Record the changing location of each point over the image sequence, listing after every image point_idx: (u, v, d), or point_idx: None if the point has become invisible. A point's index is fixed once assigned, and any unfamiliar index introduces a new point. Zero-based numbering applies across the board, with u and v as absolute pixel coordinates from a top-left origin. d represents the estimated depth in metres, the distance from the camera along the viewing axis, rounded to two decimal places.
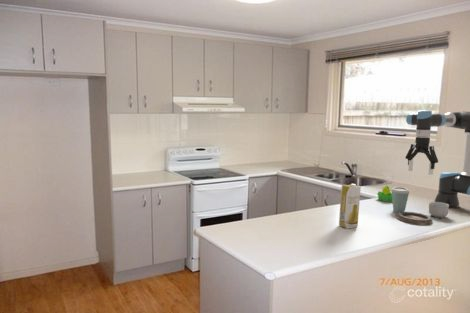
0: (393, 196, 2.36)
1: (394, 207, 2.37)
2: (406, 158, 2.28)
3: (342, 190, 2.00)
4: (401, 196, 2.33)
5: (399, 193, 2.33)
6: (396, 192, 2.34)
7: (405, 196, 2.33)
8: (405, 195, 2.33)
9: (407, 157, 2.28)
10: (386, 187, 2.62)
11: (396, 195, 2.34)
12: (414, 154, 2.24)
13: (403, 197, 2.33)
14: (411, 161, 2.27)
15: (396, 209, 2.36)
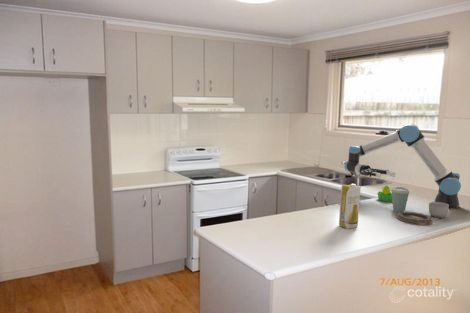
0: (393, 196, 2.36)
1: (394, 207, 2.37)
2: None
3: (342, 190, 2.00)
4: (401, 196, 2.33)
5: (399, 193, 2.33)
6: (396, 192, 2.34)
7: (405, 196, 2.33)
8: (405, 195, 2.33)
9: None
10: (386, 187, 2.62)
11: (396, 195, 2.34)
12: (379, 173, 2.56)
13: (403, 197, 2.33)
14: (387, 173, 2.53)
15: (396, 209, 2.36)
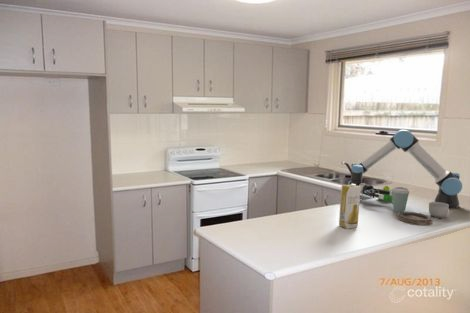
0: (393, 196, 2.36)
1: (394, 207, 2.37)
2: None
3: (342, 190, 2.00)
4: (401, 196, 2.33)
5: (399, 193, 2.33)
6: (396, 192, 2.34)
7: (405, 196, 2.33)
8: (405, 195, 2.33)
9: None
10: (386, 187, 2.62)
11: (396, 195, 2.34)
12: (382, 193, 2.54)
13: (403, 197, 2.33)
14: (390, 193, 2.51)
15: (396, 209, 2.36)
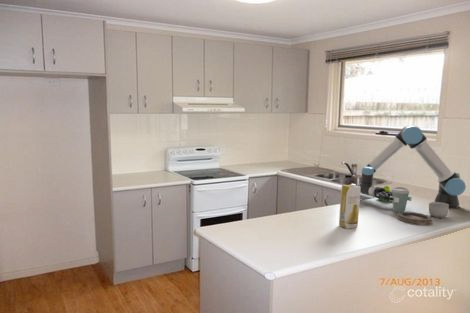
0: (393, 196, 2.36)
1: (394, 207, 2.37)
2: None
3: (342, 190, 2.00)
4: (401, 196, 2.33)
5: (399, 193, 2.33)
6: (396, 192, 2.34)
7: (405, 196, 2.33)
8: (405, 195, 2.33)
9: None
10: (386, 187, 2.62)
11: (396, 195, 2.34)
12: None
13: (403, 197, 2.33)
14: None
15: (396, 209, 2.36)
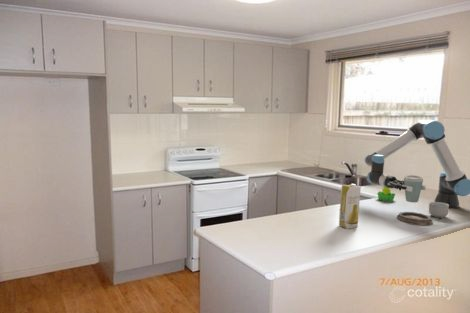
0: (406, 185, 2.20)
1: (407, 197, 2.21)
2: None
3: (342, 190, 2.00)
4: (414, 185, 2.16)
5: (412, 181, 2.16)
6: (409, 180, 2.17)
7: (419, 185, 2.16)
8: (419, 184, 2.16)
9: None
10: (386, 187, 2.62)
11: (409, 184, 2.18)
12: None
13: (417, 186, 2.16)
14: None
15: (409, 199, 2.20)
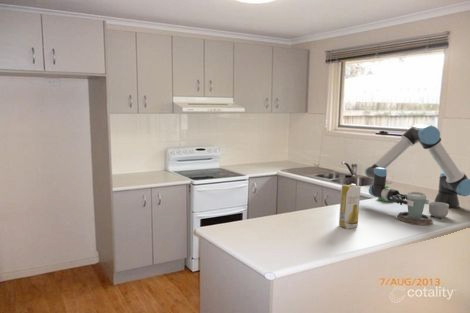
0: None
1: (409, 214, 2.19)
2: None
3: (342, 190, 2.00)
4: (417, 202, 2.14)
5: (415, 199, 2.14)
6: (412, 198, 2.15)
7: (422, 202, 2.14)
8: (422, 201, 2.14)
9: None
10: (386, 187, 2.62)
11: (412, 201, 2.16)
12: None
13: (420, 203, 2.14)
14: None
15: (412, 216, 2.18)
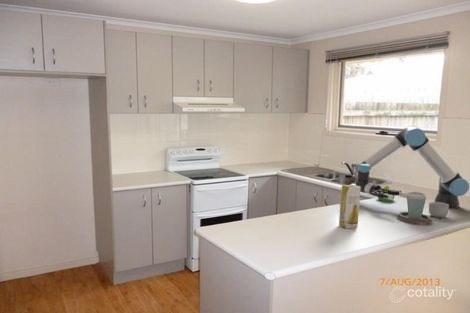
0: (408, 202, 2.18)
1: (409, 214, 2.19)
2: None
3: (342, 190, 2.00)
4: (417, 202, 2.14)
5: (415, 199, 2.14)
6: (412, 198, 2.15)
7: (422, 202, 2.14)
8: (422, 201, 2.14)
9: None
10: (386, 187, 2.62)
11: (412, 201, 2.16)
12: (391, 193, 2.40)
13: (420, 203, 2.14)
14: (399, 194, 2.37)
15: (412, 216, 2.18)
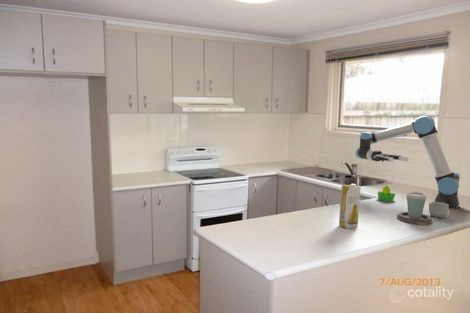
0: (408, 202, 2.18)
1: (409, 214, 2.19)
2: None
3: (342, 190, 2.00)
4: (417, 202, 2.14)
5: (415, 199, 2.14)
6: (412, 198, 2.15)
7: (422, 202, 2.14)
8: (422, 201, 2.14)
9: None
10: (386, 187, 2.62)
11: (412, 201, 2.16)
12: (391, 158, 2.56)
13: (420, 203, 2.14)
14: (399, 158, 2.53)
15: (412, 216, 2.18)
